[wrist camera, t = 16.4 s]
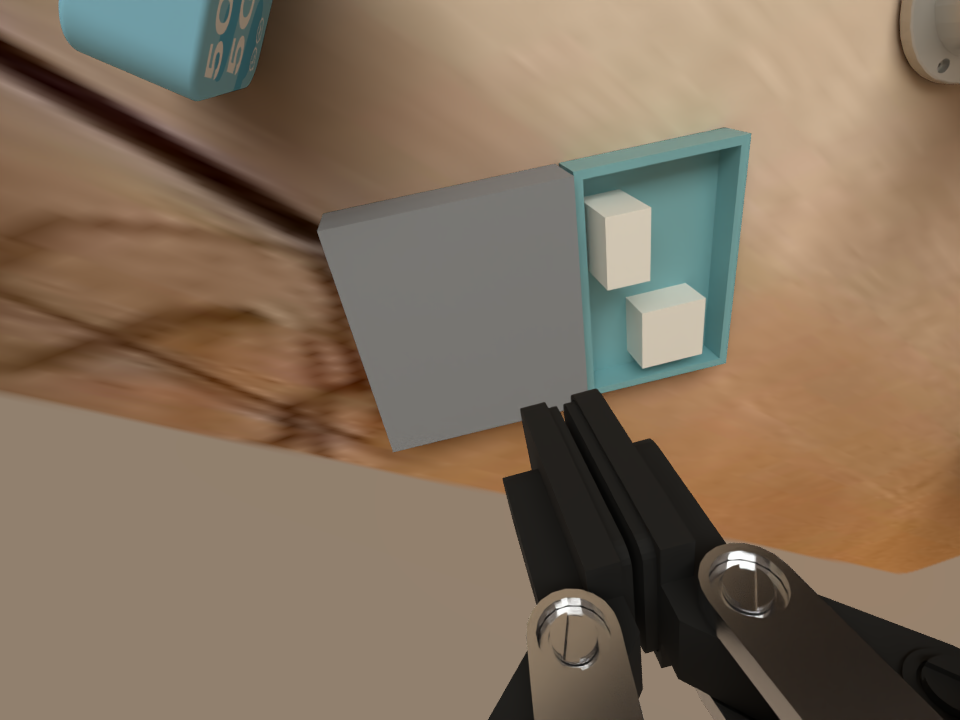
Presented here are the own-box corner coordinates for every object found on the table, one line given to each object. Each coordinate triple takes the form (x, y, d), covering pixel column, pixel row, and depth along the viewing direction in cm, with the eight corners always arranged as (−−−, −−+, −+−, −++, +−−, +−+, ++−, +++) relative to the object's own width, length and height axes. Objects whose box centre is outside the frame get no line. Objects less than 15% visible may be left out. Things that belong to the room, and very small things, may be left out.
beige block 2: (642, 313, 38) (625, 297, 41) (642, 368, 41) (627, 350, 43) (705, 298, 38) (685, 282, 41) (702, 353, 41) (683, 336, 44)
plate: (554, 163, 35) (573, 175, 32) (572, 377, 45) (588, 404, 41) (323, 213, 34) (317, 231, 31) (392, 421, 44) (393, 452, 40)
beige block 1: (578, 198, 36) (619, 189, 36) (582, 264, 39) (620, 255, 39) (605, 217, 32) (651, 207, 32) (607, 290, 34) (650, 280, 35)
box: (724, 127, 36) (751, 133, 33) (706, 345, 45) (725, 363, 43) (559, 163, 35) (573, 171, 33) (575, 377, 45) (587, 396, 42)
